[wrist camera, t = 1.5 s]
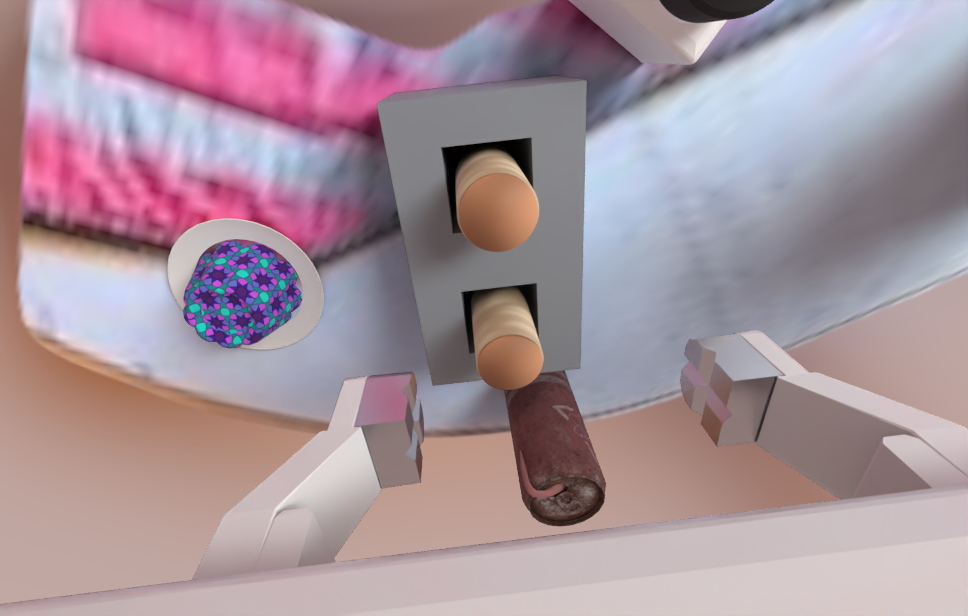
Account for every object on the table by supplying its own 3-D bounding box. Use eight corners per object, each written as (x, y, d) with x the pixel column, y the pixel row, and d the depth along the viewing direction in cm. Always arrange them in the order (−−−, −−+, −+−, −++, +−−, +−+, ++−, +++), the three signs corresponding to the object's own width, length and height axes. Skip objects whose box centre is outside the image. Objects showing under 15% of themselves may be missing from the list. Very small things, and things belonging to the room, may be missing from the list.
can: (511, 346, 40) (537, 468, 28) (573, 358, 42) (624, 481, 30) (492, 394, 43) (509, 525, 31) (551, 405, 45) (589, 534, 32)
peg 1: (516, 140, 26) (538, 167, 20) (520, 205, 28) (541, 249, 22) (451, 147, 26) (451, 177, 20) (459, 212, 28) (462, 258, 22)
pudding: (147, 217, 33) (99, 243, 28) (309, 212, 33) (287, 236, 29) (201, 348, 39) (168, 386, 34) (337, 341, 39) (323, 378, 35)
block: (554, 75, 30) (586, 80, 23) (557, 313, 39) (580, 368, 32) (393, 92, 29) (376, 103, 22) (435, 327, 39) (432, 385, 32)
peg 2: (524, 274, 31) (543, 331, 24) (526, 321, 33) (545, 386, 26) (467, 280, 31) (472, 340, 24) (473, 328, 33) (479, 394, 26)
